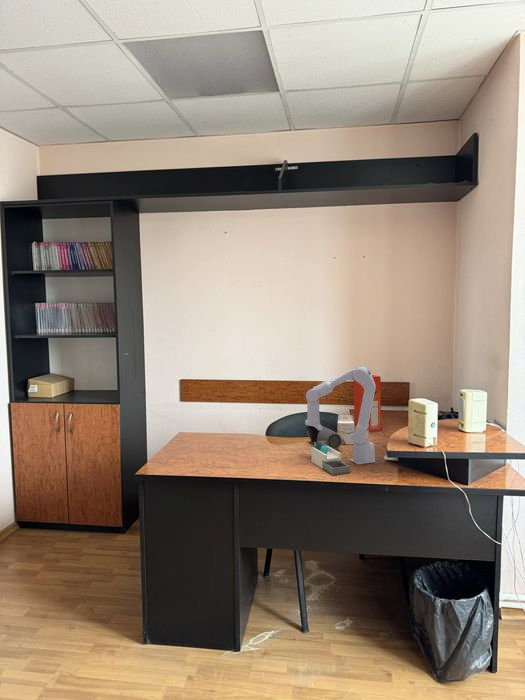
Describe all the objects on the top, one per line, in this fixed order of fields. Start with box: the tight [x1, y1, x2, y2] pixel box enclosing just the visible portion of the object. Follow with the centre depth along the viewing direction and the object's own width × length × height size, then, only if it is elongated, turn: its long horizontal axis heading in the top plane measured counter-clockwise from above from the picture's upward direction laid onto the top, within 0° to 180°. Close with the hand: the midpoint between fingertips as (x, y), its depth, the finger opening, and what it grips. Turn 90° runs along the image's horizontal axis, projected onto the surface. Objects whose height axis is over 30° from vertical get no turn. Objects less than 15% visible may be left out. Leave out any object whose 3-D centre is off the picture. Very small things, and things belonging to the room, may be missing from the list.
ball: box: [321, 445, 328, 453], centre depth 220 cm, size 4×4×4 cm
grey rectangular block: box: [313, 441, 326, 451], centre depth 224 cm, size 5×2×4 cm, turn 110°
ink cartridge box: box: [336, 414, 355, 445], centre depth 254 cm, size 9×5×15 cm, turn 84°
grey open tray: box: [323, 460, 351, 476], centre depth 210 cm, size 8×8×3 cm
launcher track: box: [310, 445, 342, 469], centre depth 219 cm, size 8×14×7 cm, turn 20°
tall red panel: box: [353, 374, 382, 433], centre depth 285 cm, size 8×17×32 cm, turn 19°
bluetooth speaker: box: [306, 425, 342, 450], centre depth 250 cm, size 23×9×10 cm, turn 21°
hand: (313, 441), depth 231 cm, fingers closed
